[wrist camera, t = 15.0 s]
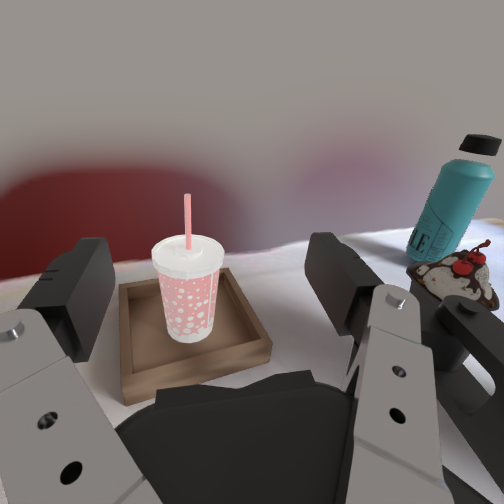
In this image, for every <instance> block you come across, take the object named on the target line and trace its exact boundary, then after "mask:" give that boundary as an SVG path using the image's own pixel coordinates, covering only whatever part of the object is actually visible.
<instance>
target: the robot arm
mask: <svg viewBox="0 0 504 504" xmlns="http://www.w3.org/2000/svg"><path fill="white" fill-rule="evenodd" d="M305 275H306V277H307V279H308V281H309V283H310V285H311V286H312V288H313V290H314V292H315V294H316V295H317V297H318V299H319V301H320V302H321V304H322V306H323V308H324V310H325V311H326V313H327V315H328V317H329V318H330V320H331V322H332V324H333V326H334V327H335V329H336V331H337V333H338V334H339V336H345V335H352V336H353V338H354V340H353V342H352V345H351V349H350V353H349V358H348V362H347V366H346V371H345V375H344V379H343V383H342V387H341V390H340V389H338V388H336V387H333V386H330V385H328V384H324V383H320V382H315V381H314V378H313V376H312V373H311V371H310V370H305V371H297V372H289V373H281V374H275V375H272V376H270V377H268V378H265V379H263V380H260V381H258V382H255V383H253V384H250V385H248V386H246V387H243V388H239V389H233V388H225V387H216V386H208V385H199V384H196V385H188V386H180V387H172V388H165V389H157V390H156V399H155V403H154V404H151V405H149V406H147V407H145V408H143V409H141V410H139V411H137V412H136V413H134V414H133V415H131V416H130V417H128V418H127V419H126V420H125V421H123V422H122V423H121V424H119V425H118V426H117V427H116V428H115V429H114V428H113V426H112V425H111V423H110V422H109V420H108V418H107V417H106V415H105V413H104V412H103V410H102V409H101V407H100V405H99V404H98V402H97V400H96V399H95V397H94V396H93V394H92V392H91V391H90V389H89V388H88V386H87V384H86V383H85V381H84V379H83V378H82V376H81V375H80V373H79V371H78V370H77V368H76V366H75V365H74V363H79V362H88V360H89V357H90V355H91V352H92V349H93V346H94V343H95V341H96V338H97V335H98V332H99V329H100V327H101V324H102V321H103V318H104V316H105V313H106V310H107V307H108V304H109V302H110V299H111V296H112V293H113V290H114V287H115V271H114V267H113V263H112V259H111V255H110V251H109V246H108V243H107V240H106V239H105V238H103V237H102V238H81V239H80V240H79V241H78V243H77V244H76V245H75V247H74V248H73V250H72V251H71V252H64V253H63V254H61V255H60V256H58V257H57V258H56V259H54V260H53V261H52V262H51V263H50V264H49V266H48V267H47V268H46V270H45V273H43V274H42V275H41V276H40V278H39V281H37V282H36V283H35V285H34V286H33V287H32V289H31V290H30V291H29V293H28V294H27V295H26V297H25V298H24V299H23V301H22V302H21V303H20V305H19V306H18V308H17V309H16V310H12V311H9V312H5V313H3V314H0V476H1V479H2V483H3V486H4V490H5V493H6V497H7V500H8V504H493V503H492V502H490V501H489V500H488V499H486V498H485V497H484V496H482V495H481V494H480V493H479V492H477V491H476V490H475V489H473V488H472V487H471V486H469V485H468V484H467V483H465V482H464V481H463V480H462V479H460V478H459V477H458V476H456V475H455V474H454V473H452V472H451V471H450V470H448V469H447V468H446V467H445V466H443V465H442V460H441V448H440V437H439V425H438V413H437V401H436V397H437V399H438V400H439V402H440V403H441V405H442V406H443V408H444V409H445V410H446V412H447V413H448V415H449V416H450V418H451V419H452V420H453V422H454V423H455V425H456V426H457V428H458V429H459V431H460V432H461V433H462V435H463V436H464V438H465V439H466V441H467V442H468V443H469V445H470V446H471V448H472V449H473V451H474V452H475V454H476V455H477V456H478V458H479V459H480V461H481V462H482V464H483V465H484V466H485V468H486V469H487V471H488V472H489V474H490V475H491V477H492V478H493V479H494V481H495V482H496V484H497V485H498V487H499V488H500V489H501V491H502V492H503V494H504V323H503V322H502V321H501V320H500V319H498V318H497V317H496V316H495V315H494V314H493V313H491V312H490V311H489V310H488V309H487V308H485V307H484V306H483V305H481V304H480V303H478V302H476V301H474V300H472V299H469V298H467V297H464V296H459V295H448V296H446V297H444V299H443V301H442V302H441V304H440V306H436V305H430V304H424V303H419V302H418V300H417V299H416V298H415V296H414V295H412V294H411V293H410V292H408V291H407V290H405V289H403V288H400V287H398V286H394V285H389V284H384V283H383V281H382V280H381V279H380V278H379V277H378V276H377V275H376V274H375V273H374V272H373V271H372V269H371V268H370V267H369V266H368V265H366V263H365V262H364V261H363V260H362V259H360V256H359V255H358V254H357V253H356V252H355V251H354V250H353V249H351V248H350V247H348V246H347V245H345V244H343V243H341V242H340V241H339V240H338V239H337V238H336V237H335V236H334V235H333V233H331V232H322V233H313V234H312V235H311V237H310V242H309V246H308V251H307V255H306V260H305ZM470 353H471V355H472V356H473V357H474V358H475V359H476V360H477V361H478V362H479V363H480V364H481V365H482V366H483V367H484V369H485V370H486V371H487V372H488V373H489V374H490V375H491V377H492V378H493V380H494V382H495V387H496V389H495V393H494V394H493V395H492V396H490V395H489V394H488V393H487V391H486V390H485V389H484V388H483V387H482V386H481V384H480V383H479V382H478V381H477V380H476V379H475V378H474V376H473V375H472V374H471V373H470V372H469V371H468V369H467V368H466V367H465V366H464V365H463V364H462V363H463V362H464V361H465V359H466V358H467V357H468V356H469V354H470Z"/></svg>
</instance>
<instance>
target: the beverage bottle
mask: <svg viewBox="0 0 504 504" xmlns="http://www.w3.org/2000/svg"><path fill="white" fill-rule="evenodd" d="M501 141H502V140H501V139H499V138H495V137H492V136H487V135H475V134H473V135H472V134H471V135H470V134H468V135H467V136H466V137H465V139H464V141H463V143H462V144H461V145H460V148H459V150H462V151H465V152H470V153H475V154H481V155H489V156H495V155H496V154H497V152H498V149H499V146H500V144H501ZM494 178H495V174H494V172H493V170H492V168H491V167H490V166H489V165H486V164H483V163H479V162H474V161H468V160H461V159H454V160H452V161H450V162H448V163H446V164H444V165H443V166H442V168H441V171H440V174H439V176H438V178H437V180H436V183H435V185H434V187H433V189H432V190H431V193H430V195H429V198H428V200H427V203H426V204H425V207H424V210H423V212H422V214H421V216H420V219H419V221H418V223H417V225H416V226H415V227H416V228H414V230H413V232H412V234H413V235H411V236H410V239H409V242H408V243H409V244H407V245H408V246H407V247H406V248H407V250H406V252H407V254H408V255H409V256H410V257H411V258H412V259H414V260H416V261H418V262H419V261H432V262H437V261H439V260H441V259H442V258H444V257H445V256H446V255H448V254H451V253H454V251H455V250H457V249H456V248H457V246H458V244H459V242H460V240H461V238H462V237H463V234H464V233H465V232H466V231H467V230H466V229H467V227H468V226H469V224H470V220H471V218H472V216H473V215H474V213H475V211H476V209H477V208H478V206H479V204H480V202H481V200H482V198H483V197H484V195H485V193H486V191H487V189H488V187H489V186H490V184H491V182H492V180H493V179H494ZM465 230H466V231H465Z"/></svg>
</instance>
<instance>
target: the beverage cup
mask: <svg viewBox="0 0 504 504" xmlns="http://www.w3.org/2000/svg"><path fill="white" fill-rule="evenodd" d="M184 203H185V235H177V236H174V237H170V238H166V239H164V240H162V241H160V242H159V243H157V244H156V245H155V247H154V248H153V249H152V261H153V266H154V267H155V268H156V269H157V272H158V278H159V283H160V289H161V295H162V300H163V306H164V312H165V318H166V323H167V329H168V333H169V334H170V336H171V337H172V338H173V339H175V340H177V341H179V342H183V343H193V342H198V341H200V340H202V339H204V338H206V337H207V336H208V335H209V334H210V332H211V331H212V327H213V321H214V313H215V304H216V296H217V287H218V279H219V270H220V267H221V266H222V263H223V256H224V250H223V248H222V246H221V244H219V243H218V242H217V241H215V240H214V239H211V238H208V237H205V236H200V235H191V196H190V194H185V195H184Z"/></svg>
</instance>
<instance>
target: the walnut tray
mask: <svg viewBox="0 0 504 504" xmlns="http://www.w3.org/2000/svg"><path fill="white" fill-rule="evenodd" d="M119 320H120V367H121V389H122V393H123V397H124V401H125V405H126V406H129V405H132V404H135V403H139V402H142V401H145V400H148V399H151V398H155V397H156V390H157V389H165V388H172V387H180V386H188V385H196V384H199V383H203V382H206V381H209V380H212V379H215V378H219V377H222V376H225V375H228V374H231V373H235V372H238V371H241V370H244V369H247V368H251V367H254V366H257V365H260V364H263V363H267V362H269V360H270V354H271V349H272V344H273V343H272V341H271V340H270V338H269V336H268V334H267V333H266V331H265V329H264V328H263V326H262V324H261V322H260V321H259V319H258V317H257V316H256V314H255V312H254V311H253V309H252V307H251V305H250V304H249V302H248V300H247V299H246V297H245V295H244V294H243V292H242V290H241V288H240V287H239V285H238V283H237V282H236V280H235V278H234V276H233V275H232V273H231V271H230V270H229V268H222V269H220V270H219V279H218V287H217V296H216V304H215V313H214V321H213V327H212V331H211V332H210V334H209V335H208V336H207V337H206V338H204V339H202V340H200V341H198V342H193V343H183V342H179V341H177V340H175V339H173V338H172V337H171V336H170V334H169V333H168V329H167V323H166V318H165V312H164V306H163V300H162V295H161V289H160V283H159V278H158V279H151V280H145V281H138V282H132V283H125V284H119Z"/></svg>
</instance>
